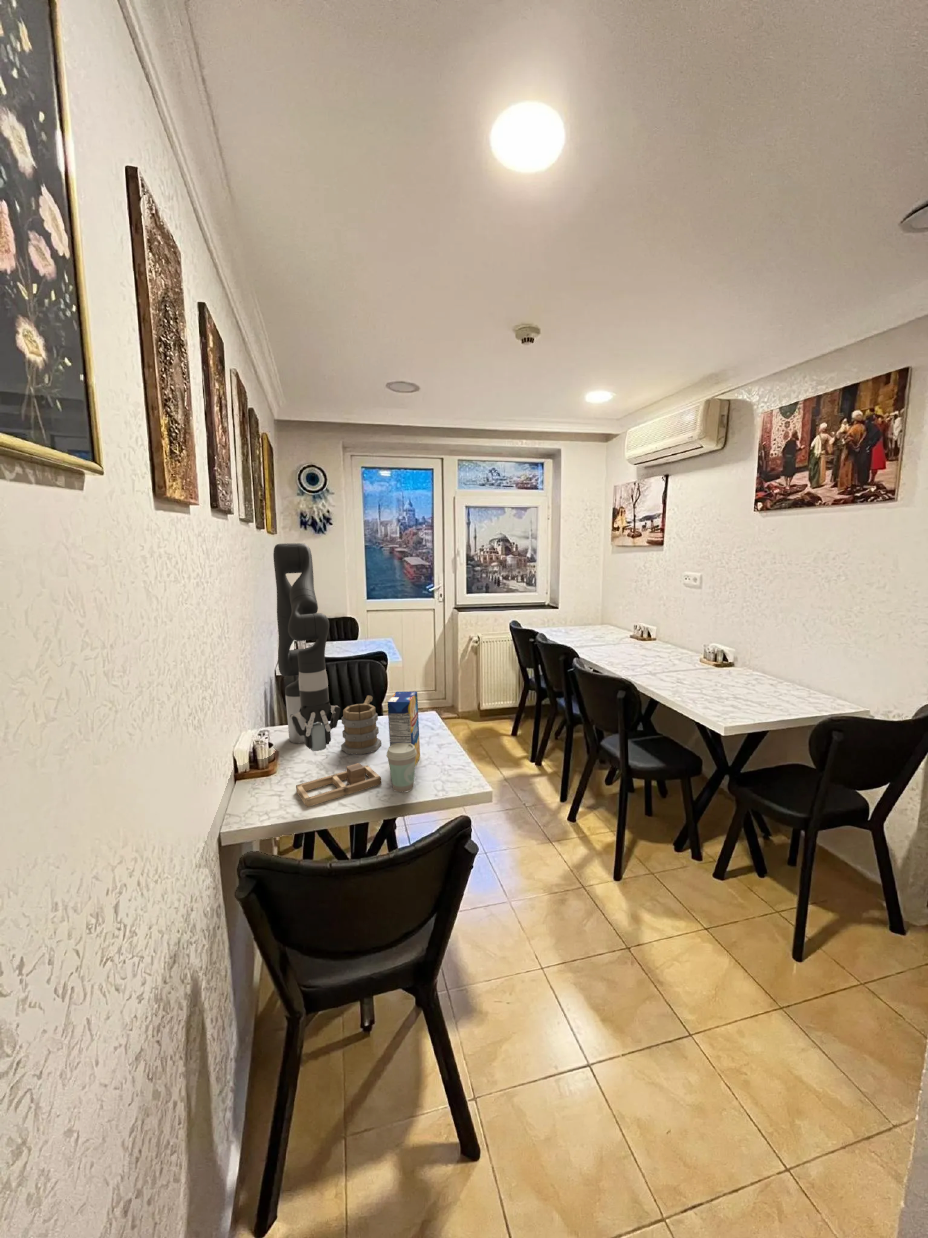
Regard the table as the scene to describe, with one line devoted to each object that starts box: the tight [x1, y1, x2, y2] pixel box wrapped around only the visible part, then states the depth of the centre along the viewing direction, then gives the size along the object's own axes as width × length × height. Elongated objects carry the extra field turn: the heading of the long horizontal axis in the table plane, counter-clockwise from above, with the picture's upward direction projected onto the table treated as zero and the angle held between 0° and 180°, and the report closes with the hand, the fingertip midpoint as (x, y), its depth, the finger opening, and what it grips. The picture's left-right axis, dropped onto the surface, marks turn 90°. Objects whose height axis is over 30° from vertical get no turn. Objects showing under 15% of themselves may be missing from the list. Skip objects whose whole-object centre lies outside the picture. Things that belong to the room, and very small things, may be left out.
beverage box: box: [387, 691, 421, 767], centre depth 155 cm, size 7×11×22 cm, turn 173°
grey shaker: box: [310, 722, 327, 752], centre depth 137 cm, size 4×4×7 cm
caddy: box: [295, 765, 382, 808], centre depth 142 cm, size 10×22×2 cm, turn 124°
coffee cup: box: [386, 743, 417, 793], centre depth 140 cm, size 8×8×12 cm
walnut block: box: [346, 762, 366, 785], centre depth 144 cm, size 4×4×5 cm
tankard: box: [340, 695, 382, 756], centre depth 174 cm, size 20×13×15 cm, turn 171°
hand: (318, 745), depth 137 cm, fingers closed on grey shaker, 4 cm apart
